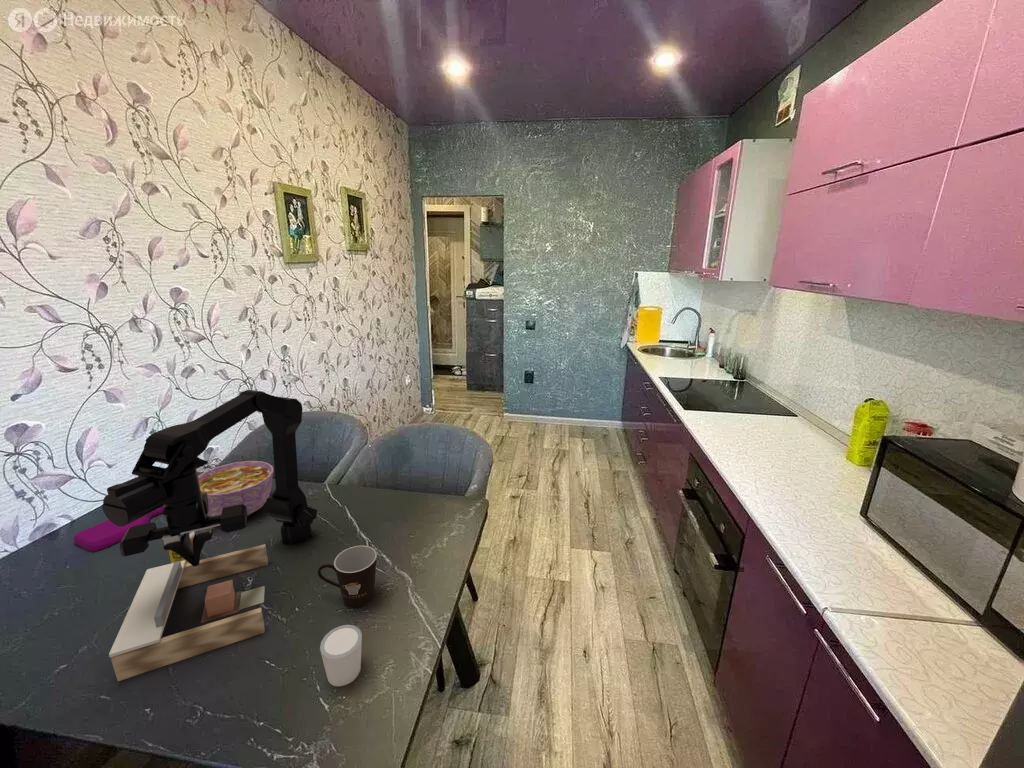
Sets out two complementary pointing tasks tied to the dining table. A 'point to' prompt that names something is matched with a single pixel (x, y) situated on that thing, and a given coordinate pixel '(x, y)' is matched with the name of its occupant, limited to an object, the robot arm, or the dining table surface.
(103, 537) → the spray bottle
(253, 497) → the bowl of food
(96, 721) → the dining table surface
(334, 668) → the white cylinder
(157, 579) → the lid
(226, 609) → the coral block
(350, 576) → the coffee mug
